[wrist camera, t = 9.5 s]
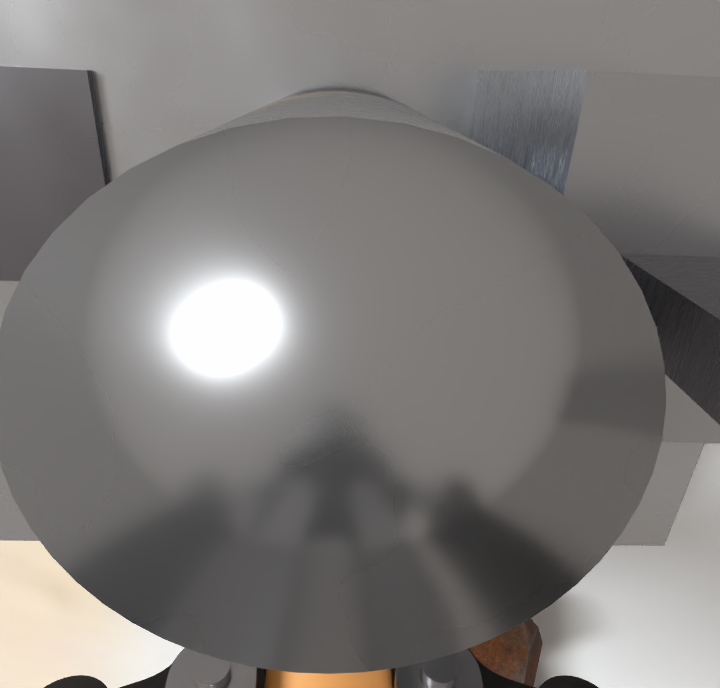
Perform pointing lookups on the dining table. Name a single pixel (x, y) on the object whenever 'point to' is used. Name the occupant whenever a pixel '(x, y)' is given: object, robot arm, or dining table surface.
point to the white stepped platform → (353, 308)
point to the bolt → (512, 653)
